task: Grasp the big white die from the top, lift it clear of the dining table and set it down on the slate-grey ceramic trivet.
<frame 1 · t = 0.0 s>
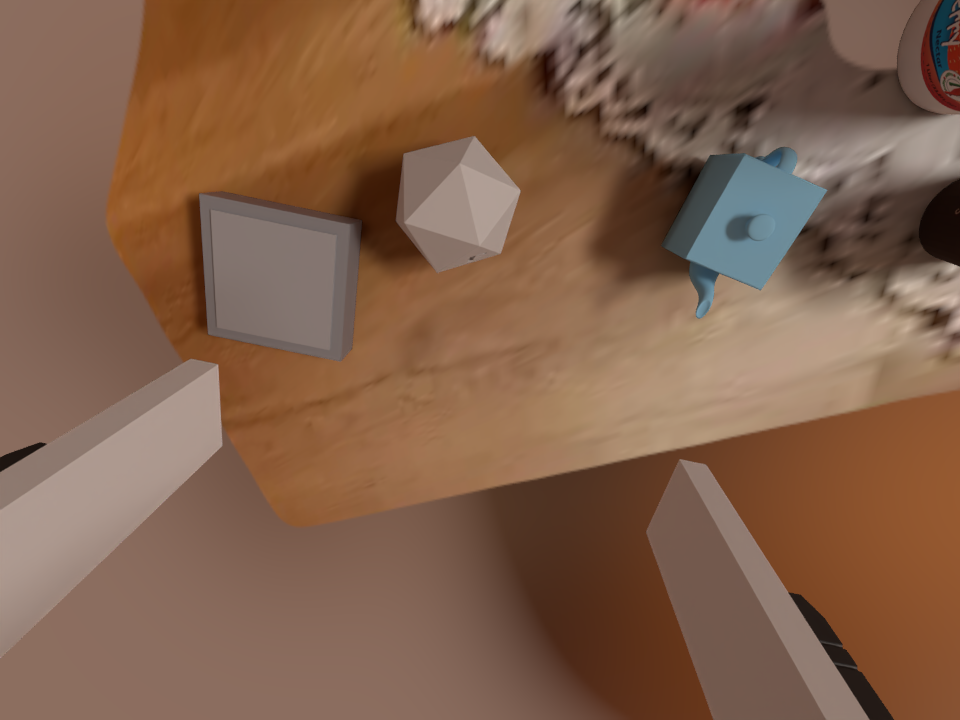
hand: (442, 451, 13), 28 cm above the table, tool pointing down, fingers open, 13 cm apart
blue spouted cube: (706, 226, 36), on the table
die: (461, 202, 37), on the table
trivet: (291, 275, 40), on the table
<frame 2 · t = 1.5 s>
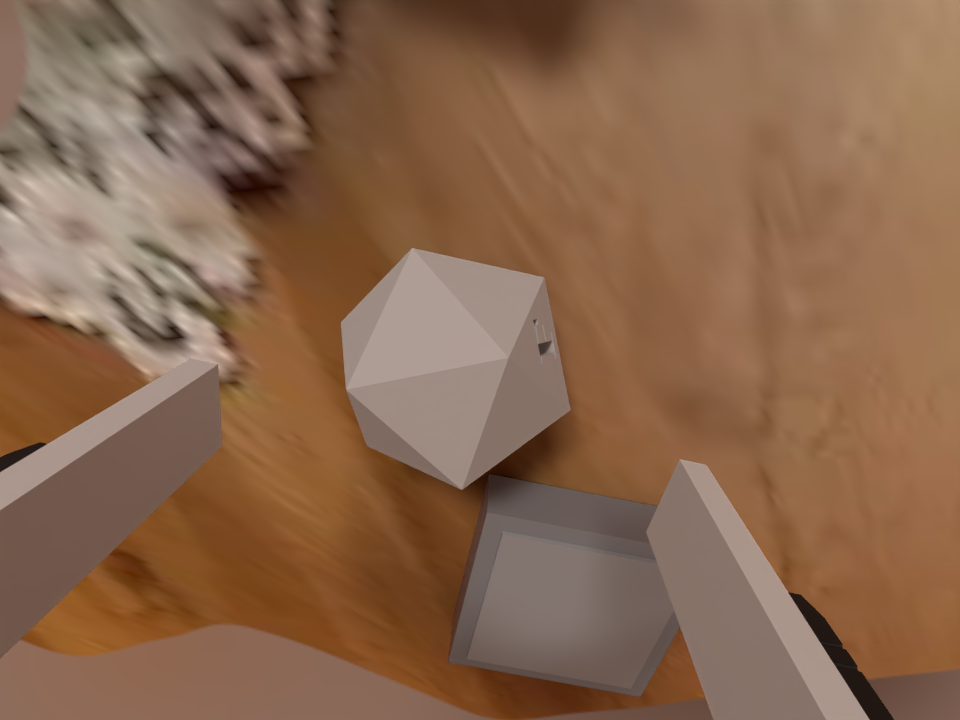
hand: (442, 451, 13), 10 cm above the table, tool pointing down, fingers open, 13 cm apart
die: (461, 329, 22), on the table
trivet: (565, 569, 28), on the table
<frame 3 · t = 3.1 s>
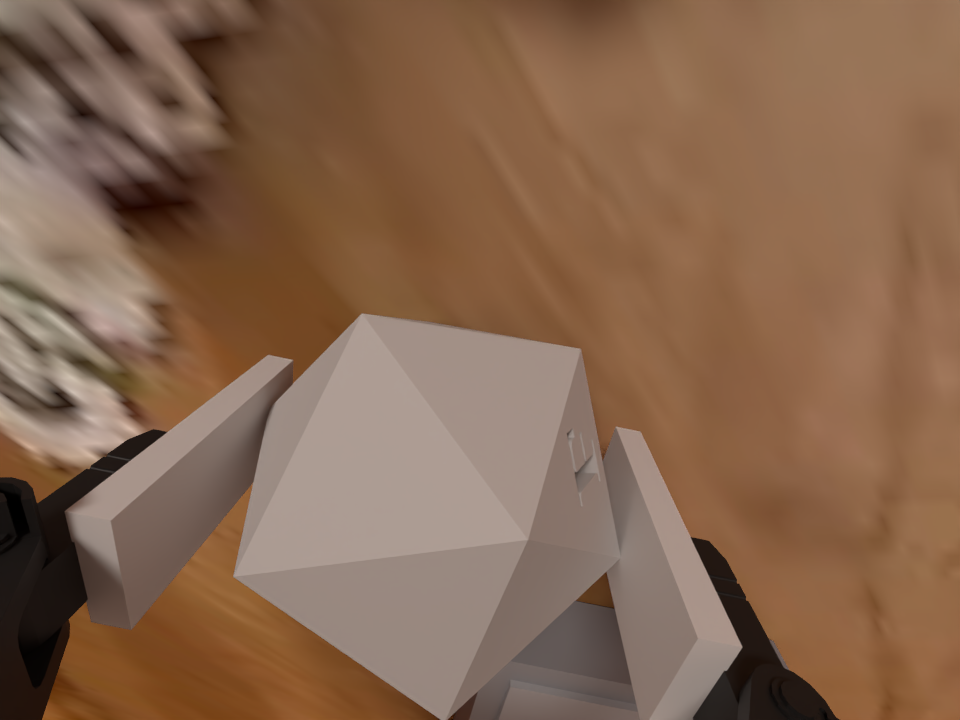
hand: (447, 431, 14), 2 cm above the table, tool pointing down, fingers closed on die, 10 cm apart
die: (455, 401, 16), on the table, touching gripper
trivet: (591, 697, 21), on the table
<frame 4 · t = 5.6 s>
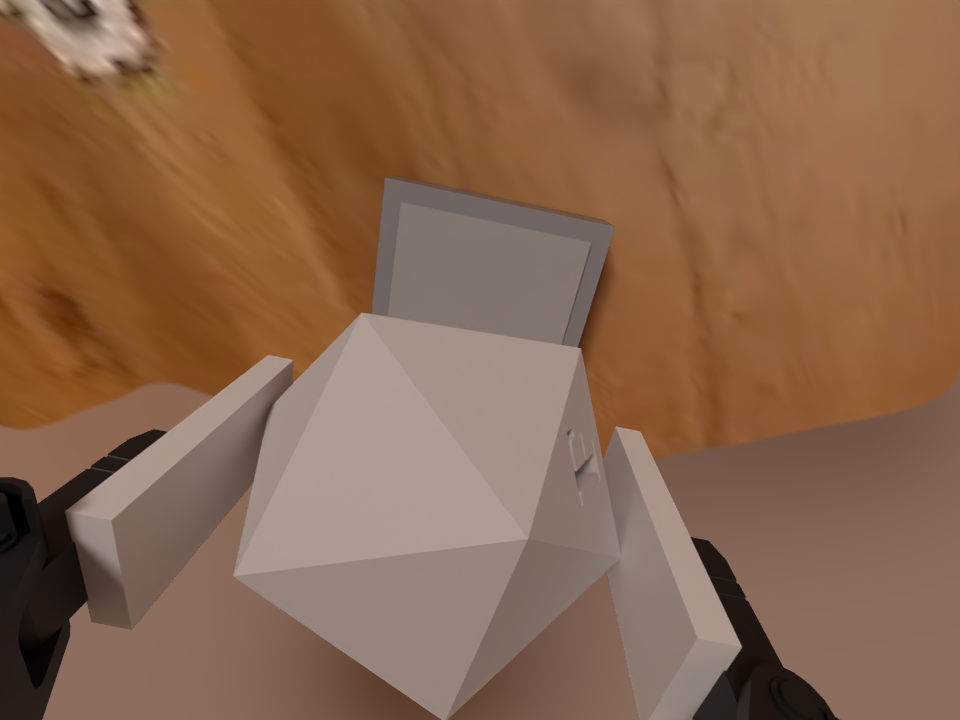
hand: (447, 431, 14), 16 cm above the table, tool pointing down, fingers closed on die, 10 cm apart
die: (455, 401, 15), point 14 cm above the table, touching gripper
trivet: (481, 298, 28), on the table
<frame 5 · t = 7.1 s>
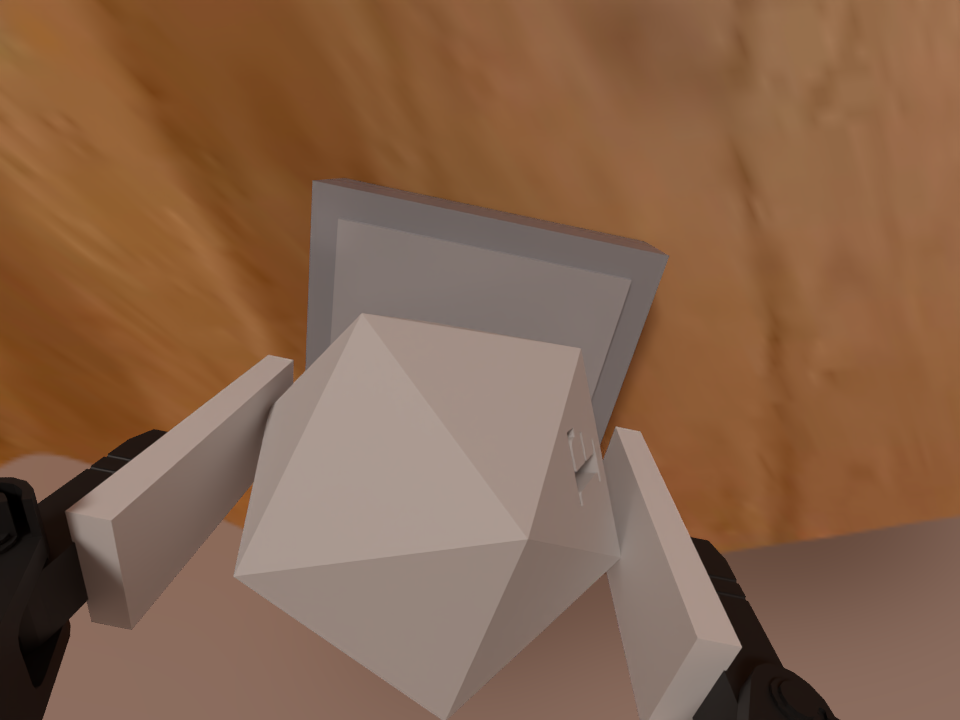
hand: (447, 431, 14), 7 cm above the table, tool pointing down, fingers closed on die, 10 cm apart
die: (455, 401, 16), point 5 cm above the table, touching gripper
trivet: (467, 348, 20), on the table
when the fingers open (6 cm above the table, at t = 8.2 s): die drops 1 cm, resting on trivet.
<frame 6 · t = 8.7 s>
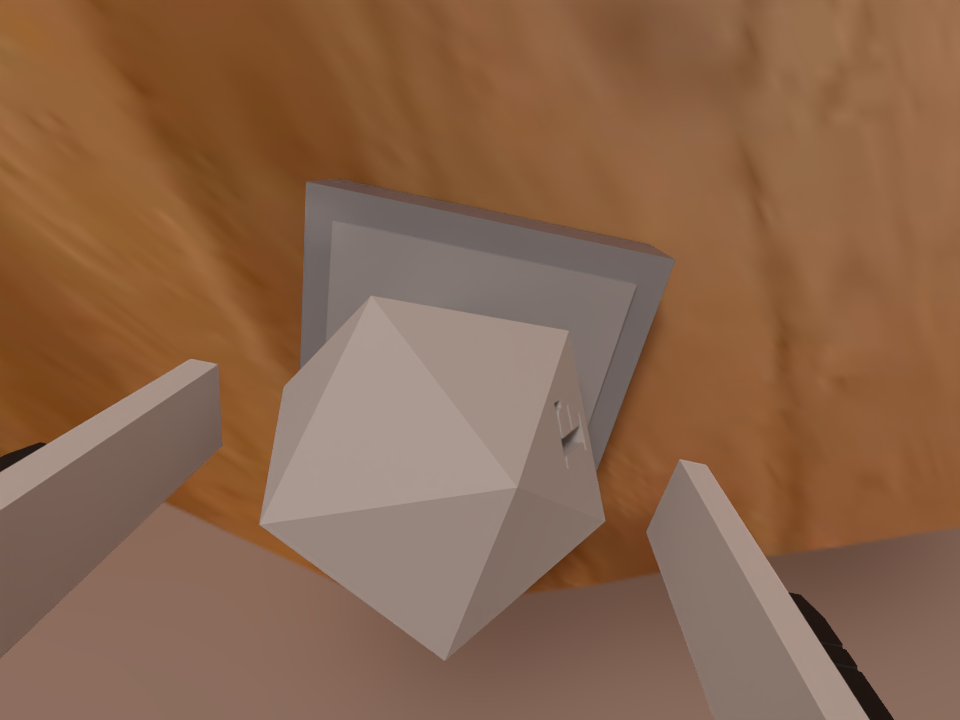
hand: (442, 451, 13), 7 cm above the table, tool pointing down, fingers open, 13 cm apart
die: (454, 384, 17), point 3 cm above the table, touching trivet
trivet: (467, 354, 19), on the table
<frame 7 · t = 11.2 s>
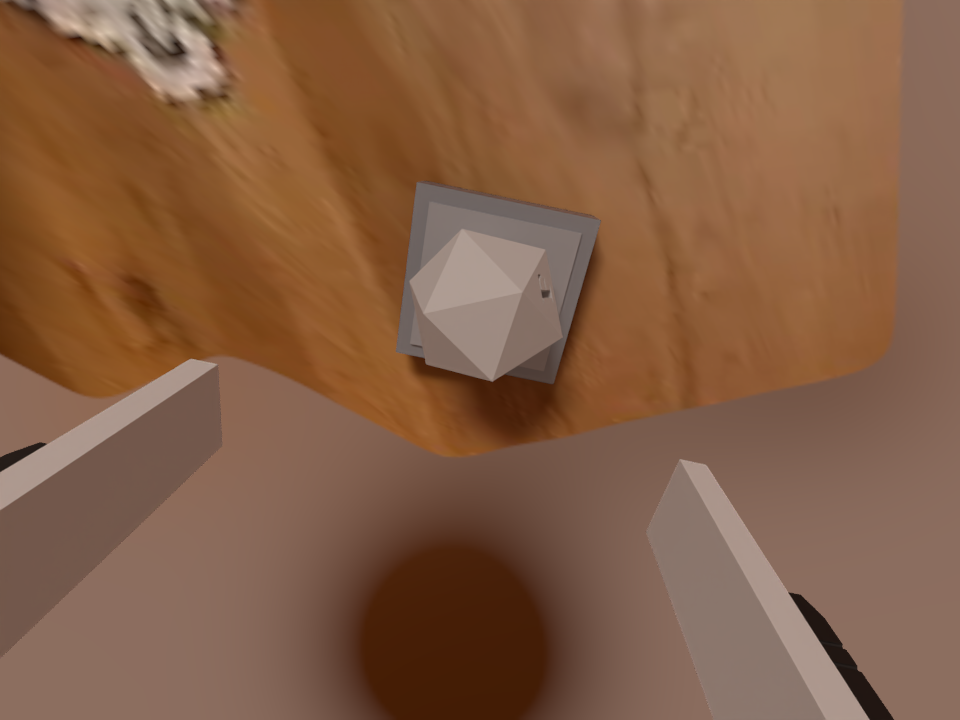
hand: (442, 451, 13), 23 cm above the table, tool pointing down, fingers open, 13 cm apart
die: (488, 290, 31), point 3 cm above the table, touching trivet
trivet: (492, 281, 34), on the table
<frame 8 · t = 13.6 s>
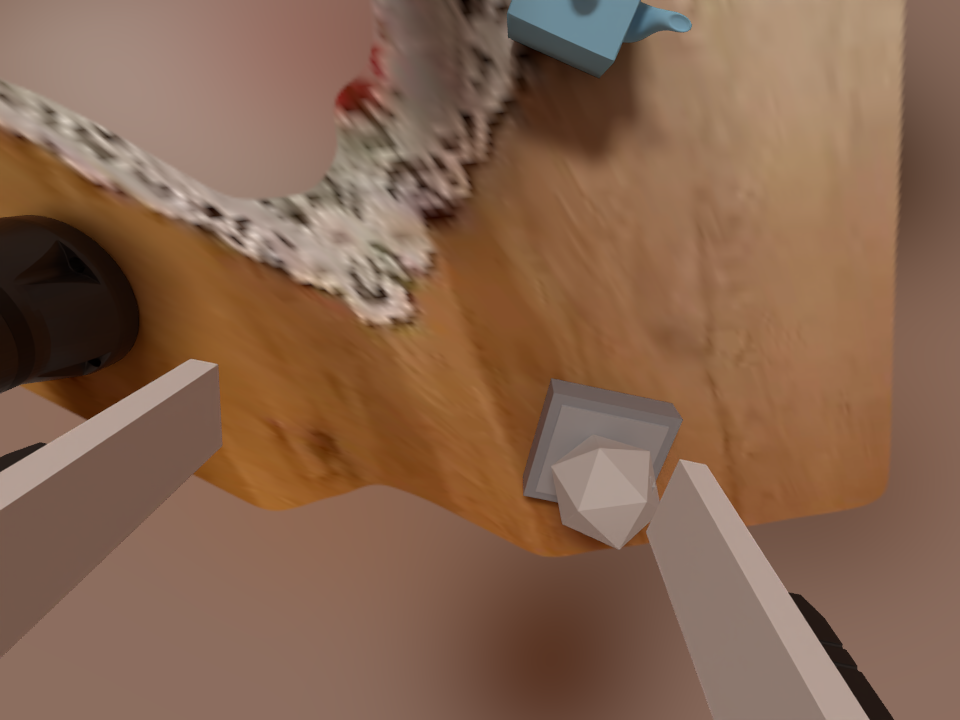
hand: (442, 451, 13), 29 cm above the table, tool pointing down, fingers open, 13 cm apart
blue spouted cube: (582, 20, 32), on the table
die: (597, 459, 43), point 3 cm above the table, touching trivet
trivet: (593, 441, 46), on the table
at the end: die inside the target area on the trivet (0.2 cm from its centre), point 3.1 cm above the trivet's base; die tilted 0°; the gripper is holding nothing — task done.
